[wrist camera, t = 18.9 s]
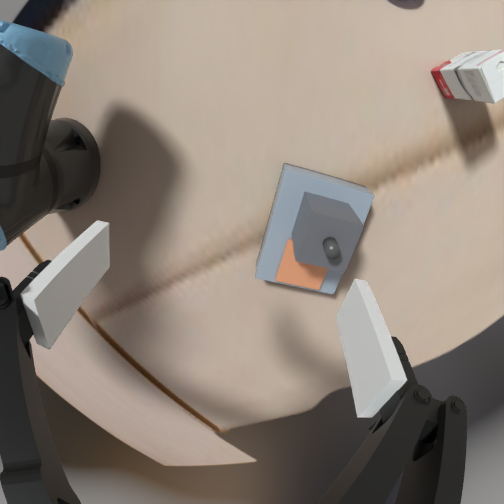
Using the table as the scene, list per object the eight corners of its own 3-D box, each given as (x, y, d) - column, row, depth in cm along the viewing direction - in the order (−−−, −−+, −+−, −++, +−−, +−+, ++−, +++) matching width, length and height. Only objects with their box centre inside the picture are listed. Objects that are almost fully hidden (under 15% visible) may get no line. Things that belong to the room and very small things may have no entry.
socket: (256, 263, 46) (255, 278, 42) (283, 162, 38) (285, 169, 34) (329, 279, 46) (333, 294, 43) (365, 186, 39) (374, 195, 35)
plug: (289, 224, 41) (296, 271, 31) (301, 184, 38) (314, 219, 28) (329, 234, 42) (348, 282, 31) (343, 196, 39) (369, 233, 28)
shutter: (274, 279, 42) (275, 293, 39) (288, 238, 39) (289, 251, 36) (318, 288, 42) (321, 303, 39) (334, 249, 39) (339, 262, 36)
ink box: (444, 99, 31) (494, 106, 21) (429, 70, 29) (478, 67, 19) (478, 79, 28) (528, 83, 18) (464, 51, 26) (513, 48, 16)
